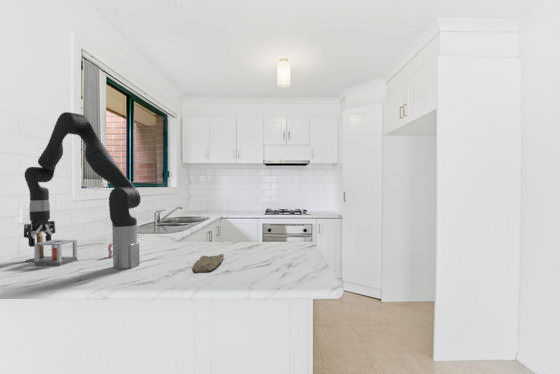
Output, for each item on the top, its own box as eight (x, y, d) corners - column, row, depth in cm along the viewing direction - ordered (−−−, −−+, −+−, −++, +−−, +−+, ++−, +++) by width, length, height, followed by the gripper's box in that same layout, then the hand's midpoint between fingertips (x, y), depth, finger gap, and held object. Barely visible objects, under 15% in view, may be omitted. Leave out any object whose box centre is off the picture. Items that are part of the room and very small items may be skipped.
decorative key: (132, 255, 170) (109, 257, 150) (130, 255, 170) (107, 257, 150) (133, 242, 171) (110, 243, 151) (131, 242, 171) (108, 243, 151)
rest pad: (55, 258, 152) (55, 256, 152) (40, 262, 144) (40, 260, 144) (40, 257, 153) (40, 256, 153) (25, 261, 145) (25, 260, 145)
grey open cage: (77, 260, 147) (76, 239, 147) (59, 265, 137) (59, 243, 137) (54, 259, 149) (53, 239, 149) (34, 265, 139) (34, 243, 139)
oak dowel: (45, 257, 150) (44, 232, 149) (40, 259, 147) (39, 233, 147) (40, 257, 150) (39, 232, 150) (35, 258, 148) (34, 233, 147)
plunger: (62, 261, 144) (62, 247, 144) (56, 263, 141) (56, 248, 141) (56, 261, 145) (56, 247, 145) (50, 263, 142) (50, 248, 142)
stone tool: (200, 259, 147) (188, 274, 122) (200, 252, 147) (188, 266, 122) (224, 258, 148) (217, 273, 123) (224, 252, 148) (217, 266, 123)
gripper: (33, 211, 141) (33, 247, 141) (59, 208, 155) (60, 242, 155) (18, 211, 142) (18, 247, 142) (45, 208, 156) (46, 242, 156)
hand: (40, 244), depth 149 cm, fingers open, 8 cm apart
